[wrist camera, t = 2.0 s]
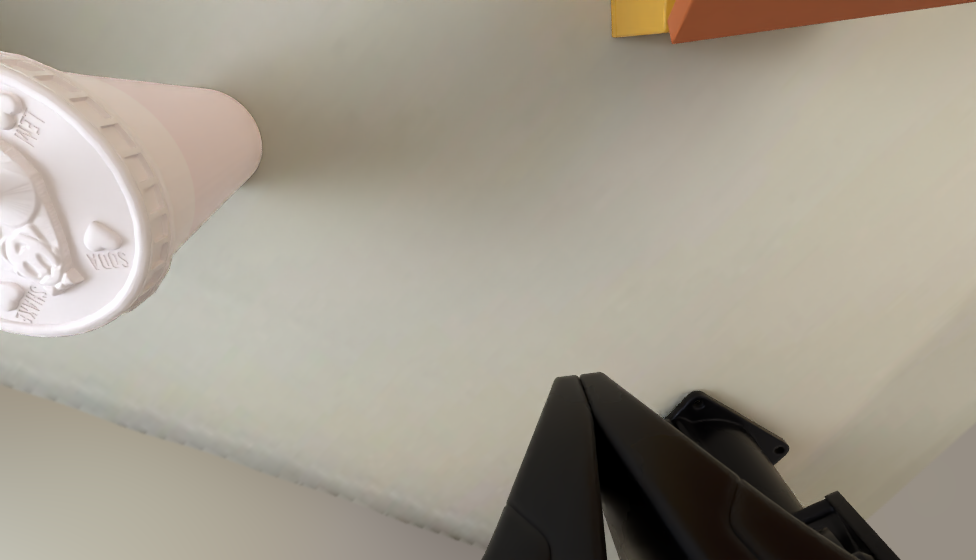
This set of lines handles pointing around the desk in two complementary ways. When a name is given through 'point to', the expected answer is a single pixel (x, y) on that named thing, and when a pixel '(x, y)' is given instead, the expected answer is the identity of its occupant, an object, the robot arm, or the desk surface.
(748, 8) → the lunchbox lid
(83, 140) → the smoothie
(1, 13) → the desk surface
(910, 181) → the desk surface
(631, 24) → the lunchbox
